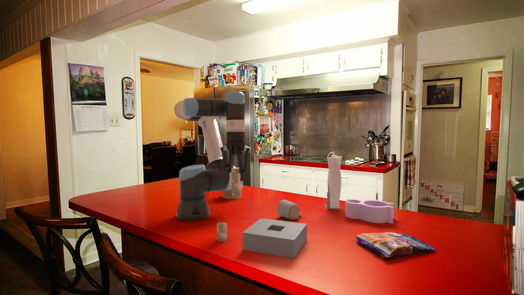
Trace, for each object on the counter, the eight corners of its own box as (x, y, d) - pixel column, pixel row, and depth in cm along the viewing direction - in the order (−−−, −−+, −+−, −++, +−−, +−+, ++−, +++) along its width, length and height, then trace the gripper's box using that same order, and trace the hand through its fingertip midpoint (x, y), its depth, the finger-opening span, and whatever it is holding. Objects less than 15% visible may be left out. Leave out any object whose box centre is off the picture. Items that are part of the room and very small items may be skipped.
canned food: (240, 198, 168) (240, 178, 167) (220, 199, 168) (220, 178, 167) (242, 194, 179) (241, 174, 178) (223, 194, 179) (223, 174, 178)
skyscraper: (323, 205, 154) (324, 151, 152) (339, 205, 154) (340, 151, 152) (326, 209, 146) (327, 153, 144) (343, 209, 146) (344, 153, 143)
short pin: (215, 240, 108) (214, 224, 107) (220, 237, 111) (220, 221, 110) (223, 242, 106) (223, 226, 106) (228, 238, 110) (228, 223, 109)
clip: (343, 219, 131) (343, 203, 131) (348, 211, 142) (348, 197, 142) (392, 225, 122) (392, 209, 122) (393, 216, 134) (394, 201, 133)
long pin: (230, 197, 120) (230, 168, 119) (234, 195, 123) (234, 167, 122) (238, 198, 119) (237, 169, 118) (242, 196, 122) (242, 167, 121)
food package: (346, 241, 108) (347, 230, 107) (402, 233, 115) (403, 222, 115) (389, 269, 87) (389, 255, 86) (454, 257, 94) (455, 244, 94)
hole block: (242, 249, 100) (242, 232, 99) (261, 233, 114) (261, 218, 114) (294, 258, 93) (294, 240, 92) (306, 240, 108) (306, 223, 107)
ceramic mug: (289, 222, 127) (289, 204, 127) (276, 217, 134) (276, 200, 133) (305, 217, 134) (306, 200, 134) (292, 213, 140) (293, 197, 140)
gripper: (213, 131, 118) (214, 188, 120) (249, 131, 112) (250, 192, 114) (222, 130, 125) (223, 185, 127) (257, 130, 119) (258, 188, 121)
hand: (236, 188), depth 121 cm, fingers closed on long pin, 3 cm apart
